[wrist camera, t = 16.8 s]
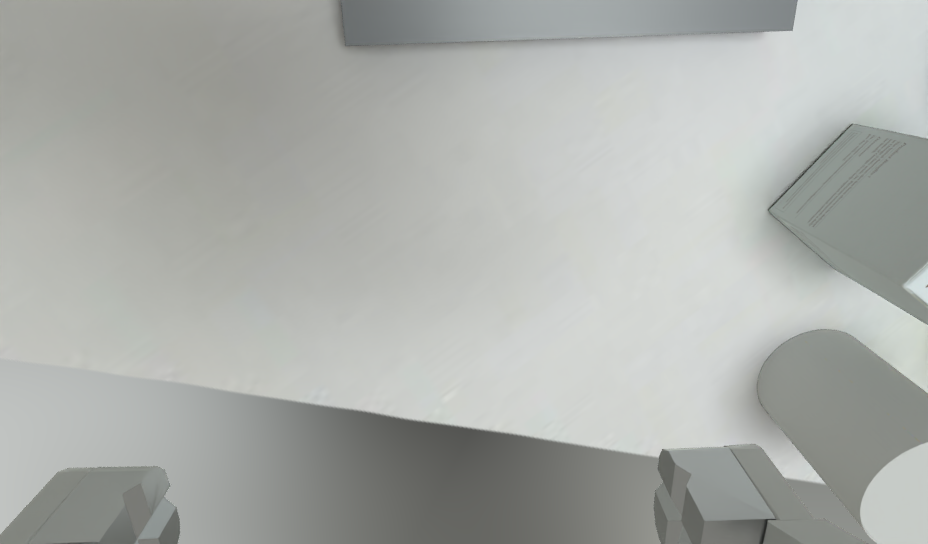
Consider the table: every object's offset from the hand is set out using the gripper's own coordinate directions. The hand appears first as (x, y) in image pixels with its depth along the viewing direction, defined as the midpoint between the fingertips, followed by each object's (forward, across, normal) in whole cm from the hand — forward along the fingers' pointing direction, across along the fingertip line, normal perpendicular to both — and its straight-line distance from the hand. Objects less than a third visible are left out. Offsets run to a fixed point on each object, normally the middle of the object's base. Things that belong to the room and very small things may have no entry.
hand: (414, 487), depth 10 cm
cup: (+29, -26, +18) cm, 43 cm away
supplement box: (+29, -26, +4) cm, 39 cm away
